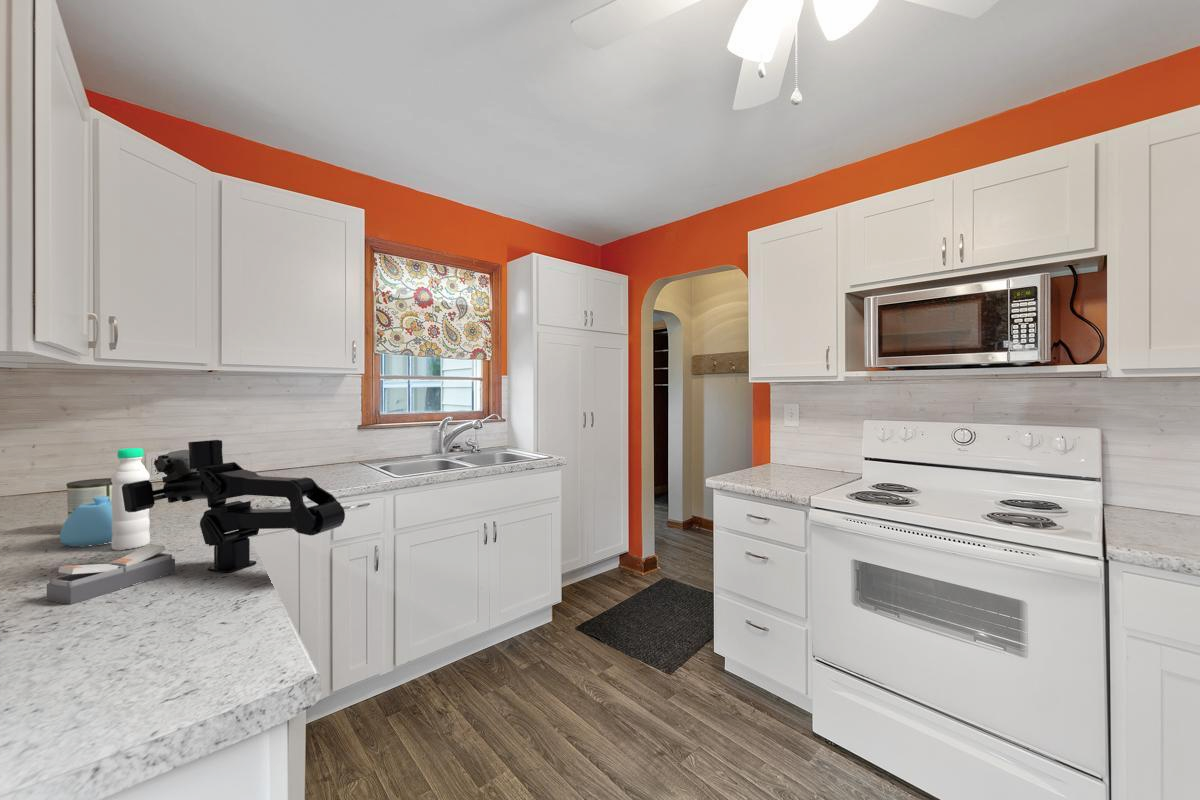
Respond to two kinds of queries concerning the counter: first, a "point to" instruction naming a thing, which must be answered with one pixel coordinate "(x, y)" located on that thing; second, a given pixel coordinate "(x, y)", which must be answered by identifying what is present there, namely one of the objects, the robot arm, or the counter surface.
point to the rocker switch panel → (107, 579)
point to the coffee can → (87, 492)
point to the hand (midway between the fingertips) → (147, 490)
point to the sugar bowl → (89, 524)
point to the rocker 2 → (139, 555)
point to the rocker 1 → (87, 568)
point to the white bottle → (125, 525)
